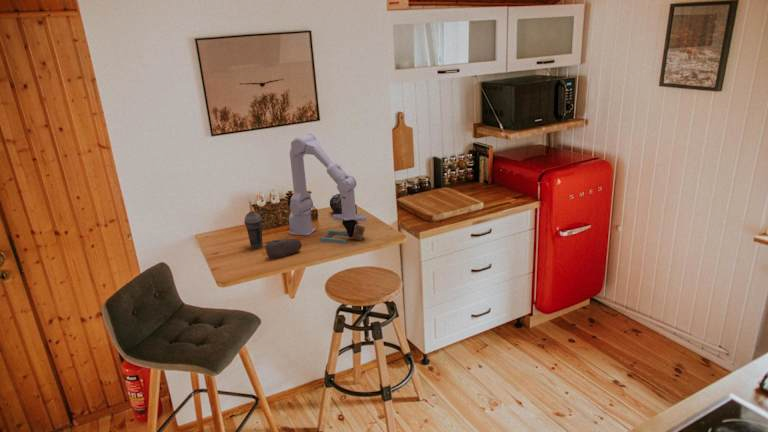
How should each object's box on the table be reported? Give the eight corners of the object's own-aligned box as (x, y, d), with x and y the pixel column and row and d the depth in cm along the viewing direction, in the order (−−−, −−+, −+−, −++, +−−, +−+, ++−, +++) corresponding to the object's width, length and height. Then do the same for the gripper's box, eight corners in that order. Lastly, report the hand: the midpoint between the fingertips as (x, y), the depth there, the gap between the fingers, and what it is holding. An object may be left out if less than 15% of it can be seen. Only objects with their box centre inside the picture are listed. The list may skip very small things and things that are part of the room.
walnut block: (351, 238, 222) (354, 227, 220) (353, 234, 226) (356, 224, 224) (361, 240, 222) (363, 230, 220) (362, 237, 226) (365, 226, 224)
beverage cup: (250, 251, 217) (243, 205, 211) (246, 246, 224) (239, 201, 217) (267, 247, 221) (261, 202, 214) (263, 242, 227) (256, 198, 220)
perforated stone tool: (300, 249, 217) (298, 233, 215) (304, 253, 213) (302, 237, 211) (264, 257, 212) (262, 240, 209) (267, 261, 207) (265, 245, 205)
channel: (320, 241, 224) (319, 238, 224) (329, 233, 233) (329, 230, 232) (346, 243, 220) (345, 240, 220) (354, 235, 229) (354, 232, 228)
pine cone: (343, 222, 245) (342, 202, 242) (326, 213, 260) (325, 193, 257) (363, 217, 250) (361, 197, 247) (345, 208, 265) (343, 189, 262)
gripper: (328, 207, 218) (331, 238, 223) (361, 209, 214) (363, 240, 218) (335, 202, 225) (338, 232, 229) (367, 204, 220) (369, 234, 224)
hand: (350, 236), depth 224 cm, fingers closed
